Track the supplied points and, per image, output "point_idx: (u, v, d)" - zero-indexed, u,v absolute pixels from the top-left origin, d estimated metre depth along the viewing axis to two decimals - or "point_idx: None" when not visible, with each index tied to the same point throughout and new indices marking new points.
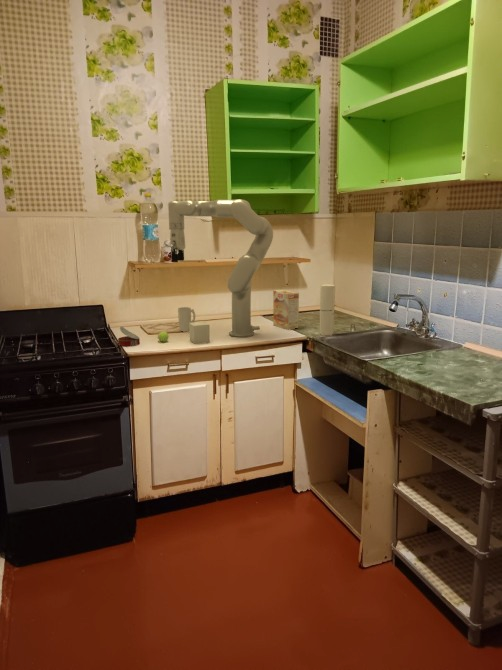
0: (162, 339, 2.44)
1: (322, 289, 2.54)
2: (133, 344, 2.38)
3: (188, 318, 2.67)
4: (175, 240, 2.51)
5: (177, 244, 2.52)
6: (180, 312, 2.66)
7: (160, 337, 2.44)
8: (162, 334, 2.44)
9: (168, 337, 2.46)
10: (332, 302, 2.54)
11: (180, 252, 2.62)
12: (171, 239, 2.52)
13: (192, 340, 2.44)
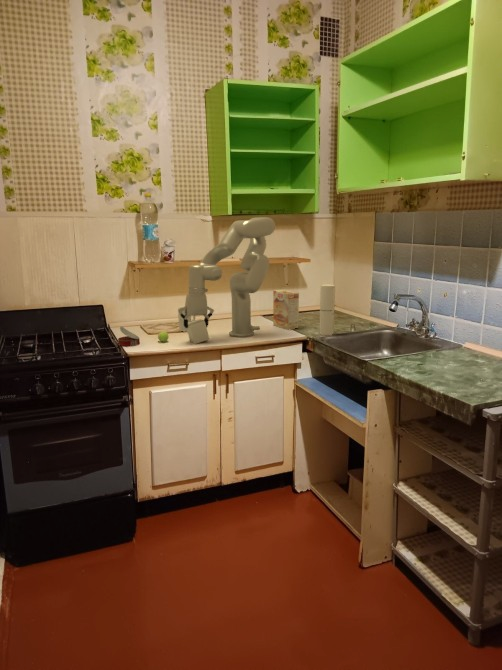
0: (162, 339, 2.44)
1: (322, 289, 2.54)
2: (133, 344, 2.38)
3: (188, 318, 2.67)
4: None
5: None
6: None
7: (160, 337, 2.44)
8: (162, 334, 2.44)
9: (168, 337, 2.46)
10: (332, 302, 2.54)
11: None
12: None
13: (192, 340, 2.44)
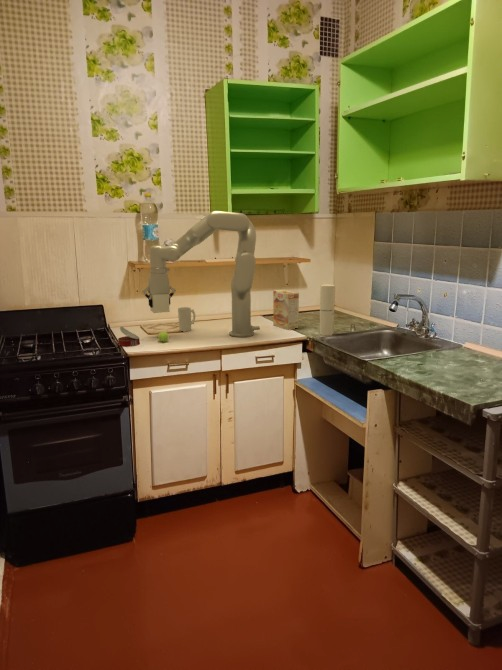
0: (162, 339, 2.44)
1: (322, 289, 2.54)
2: (133, 344, 2.38)
3: (188, 318, 2.67)
4: None
5: None
6: (180, 312, 2.66)
7: (160, 337, 2.44)
8: (162, 334, 2.44)
9: (168, 337, 2.46)
10: (332, 302, 2.54)
11: None
12: None
13: (152, 309, 2.52)
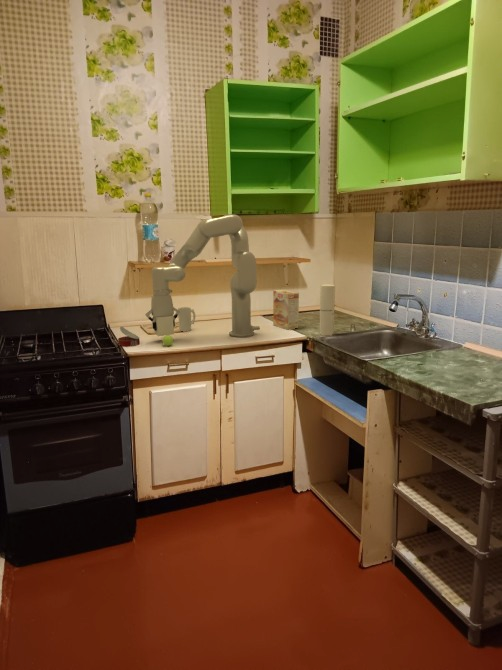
0: None
1: (322, 289, 2.54)
2: (133, 344, 2.38)
3: (188, 318, 2.67)
4: None
5: None
6: (180, 312, 2.66)
7: None
8: None
9: None
10: (332, 302, 2.54)
11: (155, 322, 2.44)
12: (172, 305, 2.44)
13: (156, 332, 2.44)
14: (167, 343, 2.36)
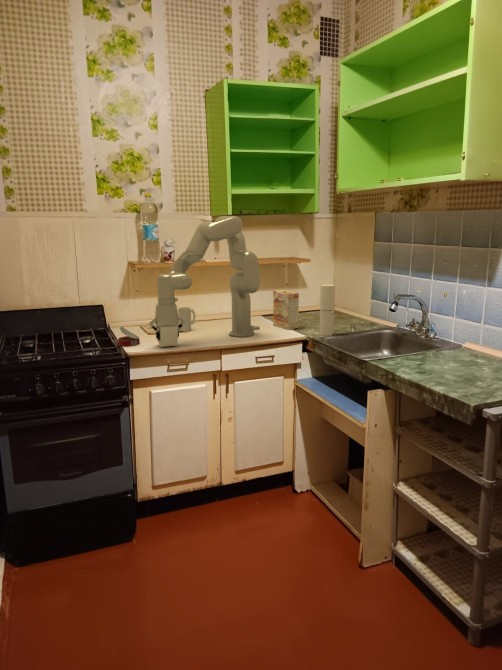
0: None
1: (322, 289, 2.54)
2: (133, 344, 2.38)
3: (188, 318, 2.67)
4: None
5: None
6: (180, 312, 2.66)
7: None
8: None
9: None
10: (332, 302, 2.54)
11: (158, 331, 2.34)
12: (177, 314, 2.35)
13: (159, 342, 2.35)
14: None
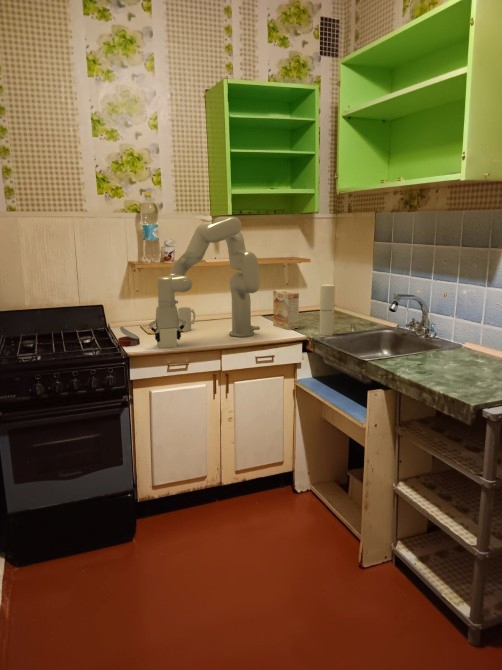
0: None
1: (322, 289, 2.54)
2: (133, 344, 2.38)
3: (188, 318, 2.67)
4: None
5: None
6: (180, 312, 2.66)
7: None
8: None
9: None
10: (332, 302, 2.54)
11: (158, 333, 2.34)
12: None
13: (159, 344, 2.36)
14: None
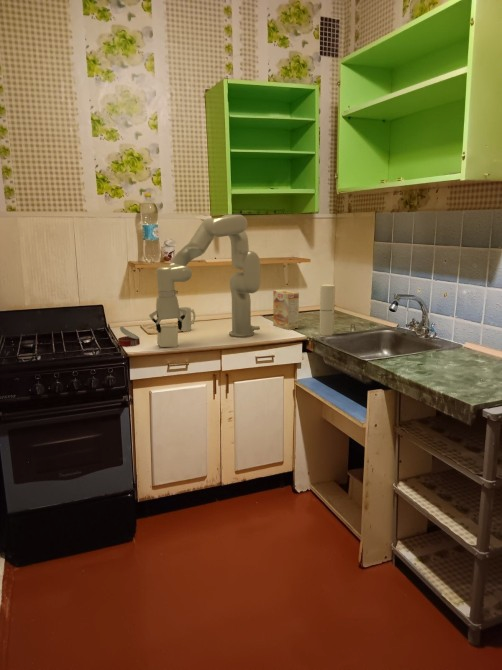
0: None
1: (322, 289, 2.54)
2: (133, 344, 2.38)
3: (188, 318, 2.67)
4: None
5: None
6: (180, 312, 2.66)
7: None
8: None
9: None
10: (332, 302, 2.54)
11: None
12: (178, 306, 2.34)
13: (159, 343, 2.36)
14: None
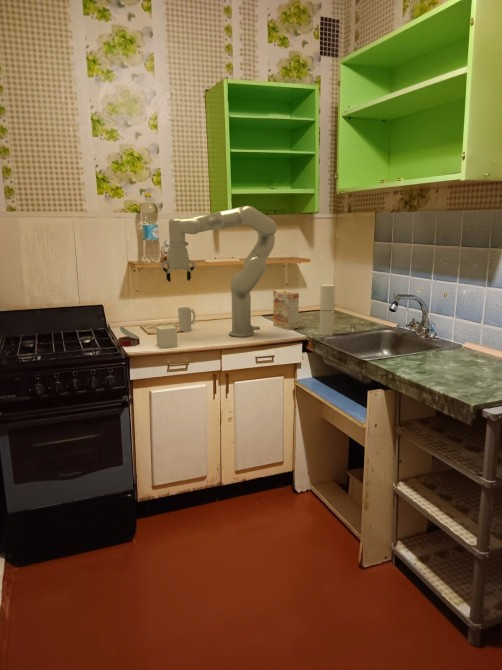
0: None
1: (322, 289, 2.54)
2: (133, 344, 2.38)
3: (188, 318, 2.67)
4: None
5: None
6: (180, 312, 2.66)
7: None
8: None
9: None
10: (332, 302, 2.54)
11: None
12: (188, 257, 2.47)
13: (159, 344, 2.36)
14: None
